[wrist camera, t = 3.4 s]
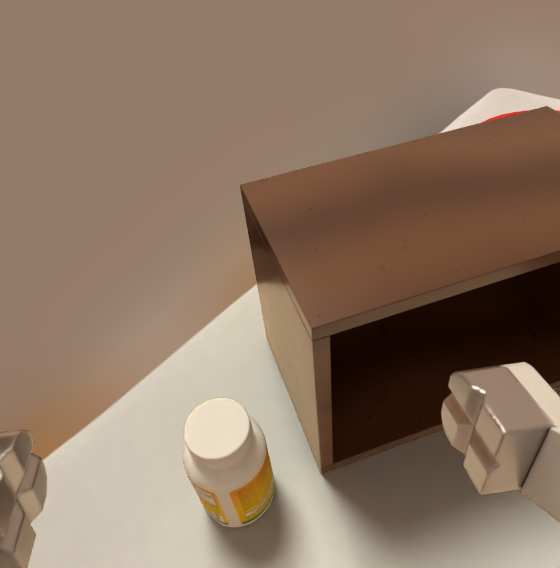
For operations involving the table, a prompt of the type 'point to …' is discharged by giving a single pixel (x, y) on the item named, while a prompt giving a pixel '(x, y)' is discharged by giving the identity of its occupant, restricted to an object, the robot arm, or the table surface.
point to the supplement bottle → (228, 462)
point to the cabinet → (409, 277)
